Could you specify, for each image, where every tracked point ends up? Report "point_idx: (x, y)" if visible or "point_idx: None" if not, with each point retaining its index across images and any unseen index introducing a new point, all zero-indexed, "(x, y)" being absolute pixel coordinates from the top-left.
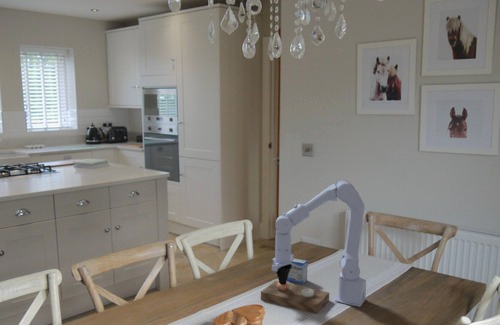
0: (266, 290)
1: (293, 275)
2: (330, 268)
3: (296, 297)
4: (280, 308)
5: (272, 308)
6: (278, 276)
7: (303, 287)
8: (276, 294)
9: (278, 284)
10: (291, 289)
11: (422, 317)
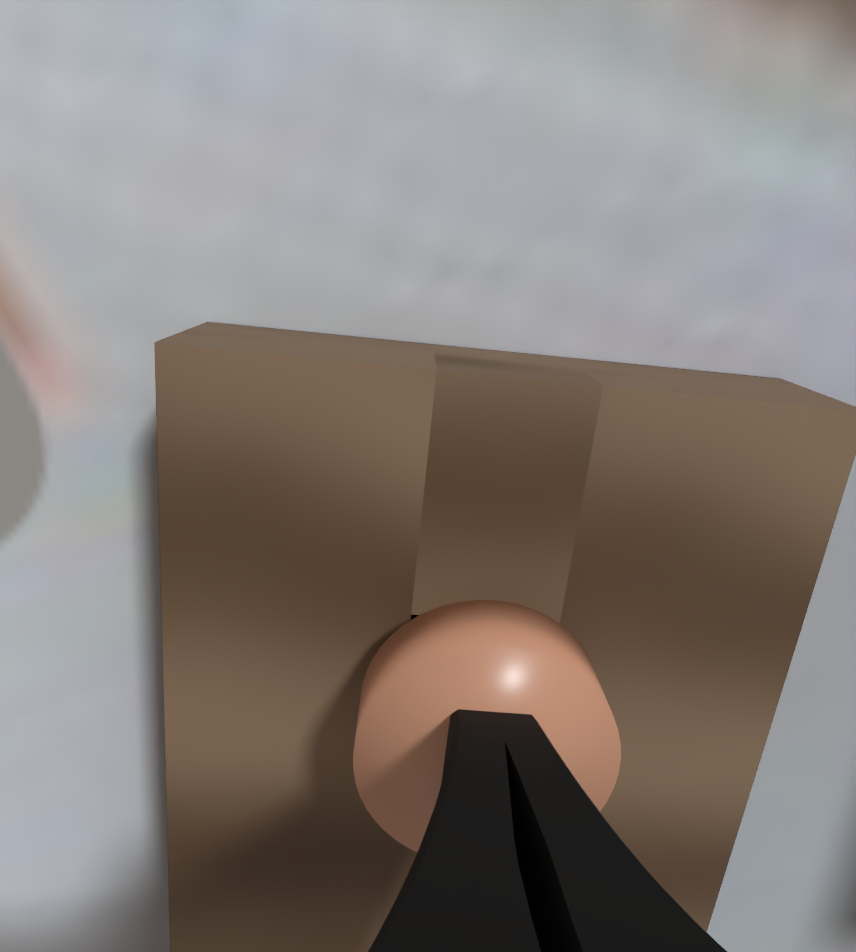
0: (277, 430)
1: None
2: None
3: (266, 946)
4: (96, 699)
5: (29, 607)
6: (425, 855)
7: None
8: (206, 663)
9: (407, 703)
10: None
11: None
